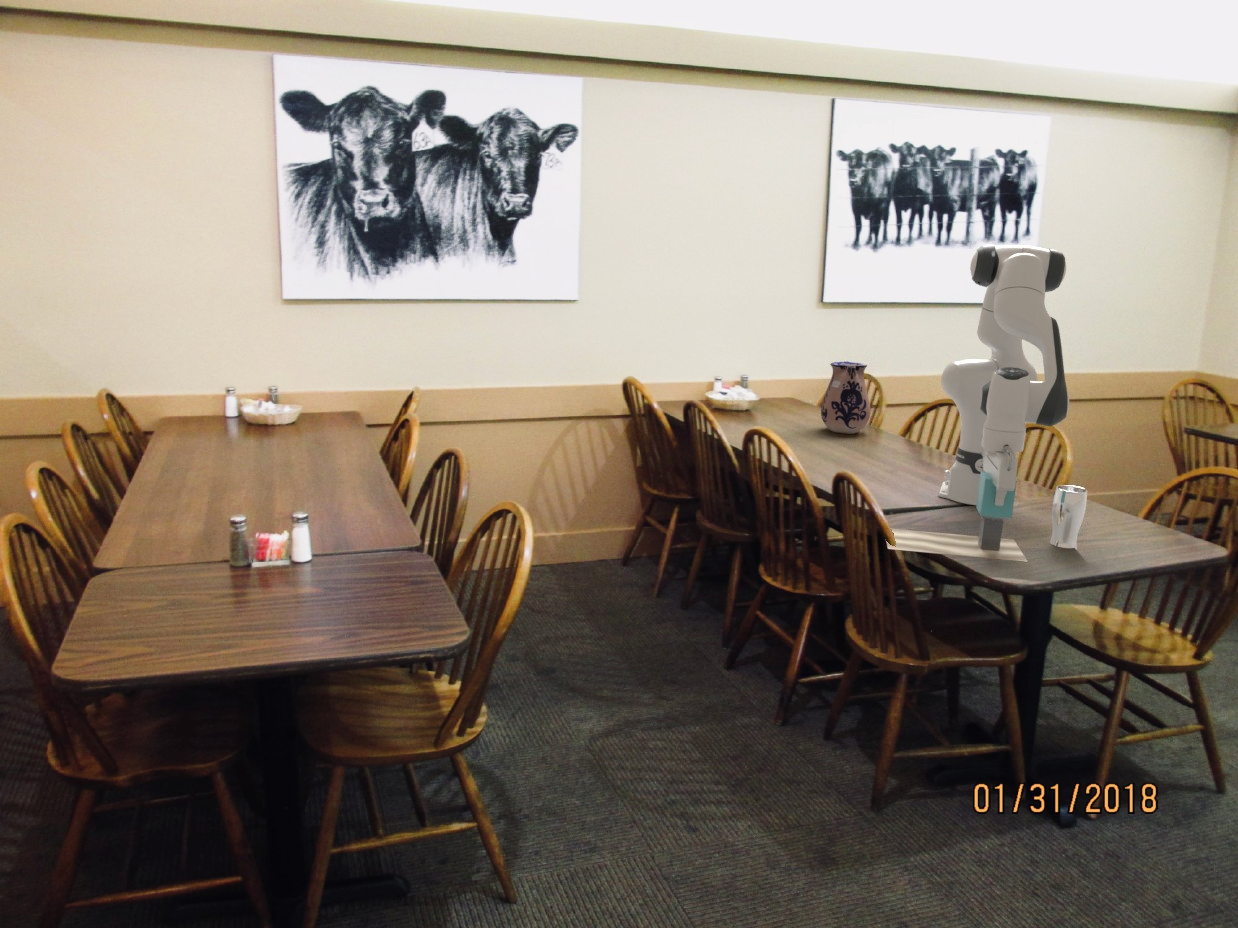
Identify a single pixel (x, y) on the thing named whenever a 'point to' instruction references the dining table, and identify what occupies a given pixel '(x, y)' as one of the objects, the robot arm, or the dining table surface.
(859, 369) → the ceramic pitcher
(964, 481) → the robot arm
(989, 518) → the steel post
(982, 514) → the turquoise rectangular block
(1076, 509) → the beer glass
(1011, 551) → the birch board
